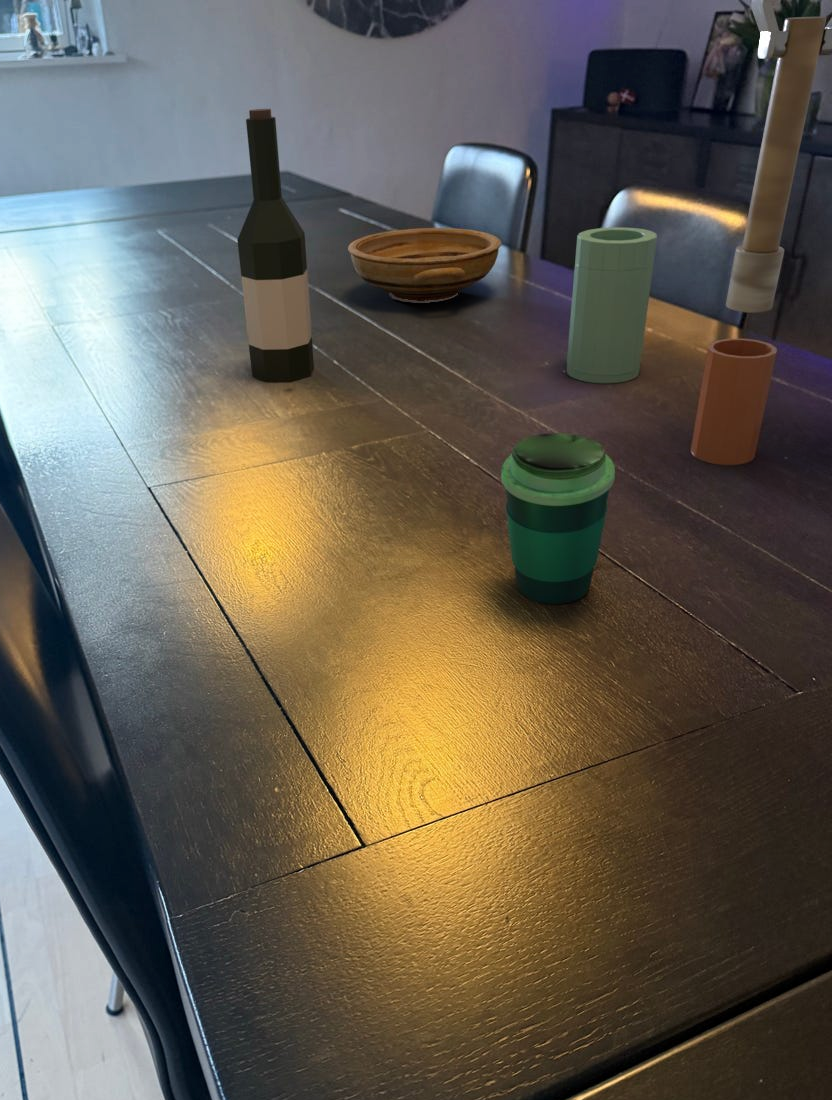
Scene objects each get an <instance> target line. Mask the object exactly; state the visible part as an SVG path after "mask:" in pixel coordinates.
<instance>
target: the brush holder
mask: <svg viewBox="0 0 832 1100" xmlns="http://www.w3.org/2000/svg"><path fill="white" fill-rule="evenodd" d="M777 352H778V348H777V347H776V346H775V345H773V344H772V343H769V342H765V341H763V340H759V339H751V338H724V339H717V340H715V341H712V342H710V343H708V346H707V351H706V356H705V364H704V368H703V375H702V381H701V387H700V393H699V397H698V405H697V411H696V415H695V422H694V428H693V433H692V440H691V445H690V453H691V455H692V456H693V457H695V458H696V459H698V460H699V461H702V462H705V463H709V464H713V465H720V466H737V465H744V464H747V463H749V462H751V461H753V460H754V459H755V458H756V453H757V449H758V443H759V439H760V434H761V429H762V424H763V419H764V416H765V415H764V414H765V410H766V405H767V400H768V395H769V391H770V386H771V381H772V377H773V372H774V368H775V362H776V358H777Z"/></svg>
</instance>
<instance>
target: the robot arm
mask: <svg viewBox="0 0 832 1100" xmlns="http://www.w3.org/2000/svg"><path fill="white" fill-rule="evenodd" d="M781 2H782V0H751V4H750V8H751V11H752V14H753V17H754V20H755V23H756V25H757V28H758V31H759V33H760V37H759V43H758V48H757V58H758V59H762V60H769V59H770V60H771V59H778V58H782V57H783V56H784V54H785V51H786V47H785V44H786V42H787V40H788V34H789V31H783V30H780V29H779V25H778V22H777V17H776V14H775V11H774V8H773V6H780V4H781ZM819 56H832V17H831V18H830V20H829V21H828V23H827V24H826V25H825V28H824V33H823V38H822V42H821V47H820V52H819Z"/></svg>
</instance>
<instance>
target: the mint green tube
mask: <svg viewBox="0 0 832 1100" xmlns="http://www.w3.org/2000/svg"><path fill="white" fill-rule="evenodd" d="M576 236H577V237H576V247H575V248H576V249H575V259H574V260H575V261H574V270H573V271H574V273H573V284H572V293H571V294H572V295H571V306H570V307H571V308H570V317H569V331H568V342H567V345H568V346H567V355H566V374H567V375H568V376H569V377H571V378H573V379H574V380H577V381H581V382H585V383H592V384H619V383H625V382H629V381H632V380H634V379H636V378H637V377H638V376H639V374H640V368H641V363H642V356H643V349H644V348H643V347H644V340H645V331H646V324H647V317H648V310H649V302H650V292H651V286H652V277H653V270H654V264H655V263H654V261H655V254H656V247H657V241H658V240H657V239H658V234H657V233H656V232H654V231H653V230H649V229H644V228H637V227H617V226H616V227H614V226H613V227H599V228H598V227H597V228H592V229H587V230H583V231H580V232H579V233H578V235H576Z"/></svg>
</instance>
